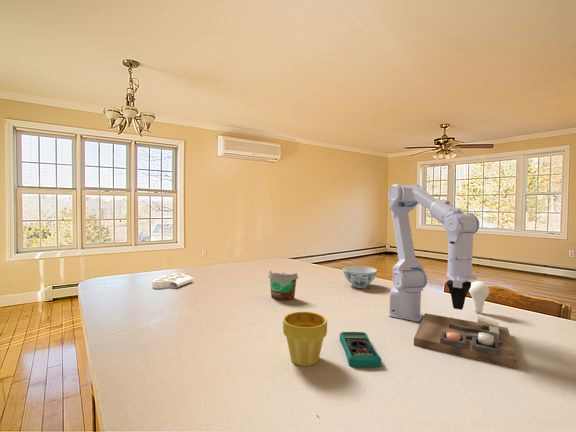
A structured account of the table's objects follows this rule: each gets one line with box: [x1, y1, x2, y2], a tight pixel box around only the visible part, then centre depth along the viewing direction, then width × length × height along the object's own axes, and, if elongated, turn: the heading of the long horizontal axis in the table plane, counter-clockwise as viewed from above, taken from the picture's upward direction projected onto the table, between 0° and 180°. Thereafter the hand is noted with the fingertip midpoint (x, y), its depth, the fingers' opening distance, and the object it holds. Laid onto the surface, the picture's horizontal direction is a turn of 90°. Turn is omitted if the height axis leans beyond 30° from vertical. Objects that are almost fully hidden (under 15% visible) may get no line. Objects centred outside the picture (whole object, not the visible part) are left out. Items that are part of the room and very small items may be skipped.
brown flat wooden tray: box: [413, 312, 518, 369], centre depth 86 cm, size 22×22×4 cm
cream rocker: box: [476, 315, 500, 330], centre depth 89 cm, size 5×4×1 cm
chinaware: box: [342, 265, 378, 289], centre depth 142 cm, size 15×15×8 cm
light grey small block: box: [489, 326, 499, 340], centre depth 81 cm, size 2×4×2 cm, turn 149°
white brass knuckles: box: [151, 272, 194, 290], centre depth 141 cm, size 3×18×15 cm
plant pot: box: [282, 311, 328, 367], centre depth 74 cm, size 10×10×10 cm
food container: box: [267, 270, 299, 301], centre depth 121 cm, size 12×6×10 cm, turn 68°
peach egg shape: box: [446, 332, 461, 341], centre depth 80 cm, size 3×3×2 cm
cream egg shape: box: [478, 332, 494, 345], centre depth 76 cm, size 3×3×2 cm
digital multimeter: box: [339, 331, 382, 369], centre depth 78 cm, size 7×15×3 cm, turn 0°
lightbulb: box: [468, 280, 490, 314], centre depth 108 cm, size 6×6×11 cm
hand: (457, 308), depth 84 cm, fingers closed
